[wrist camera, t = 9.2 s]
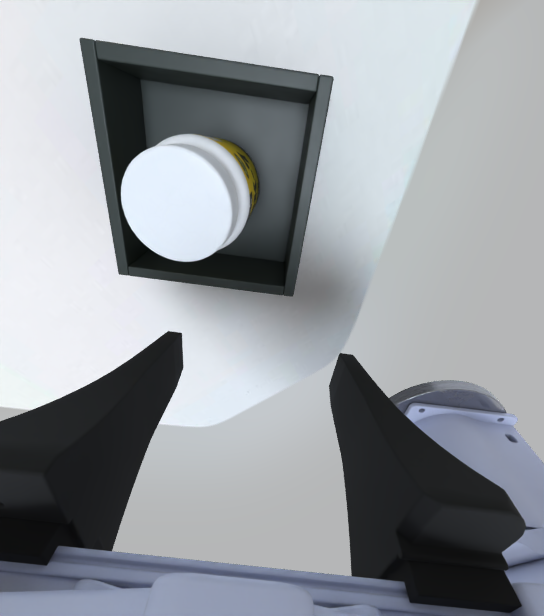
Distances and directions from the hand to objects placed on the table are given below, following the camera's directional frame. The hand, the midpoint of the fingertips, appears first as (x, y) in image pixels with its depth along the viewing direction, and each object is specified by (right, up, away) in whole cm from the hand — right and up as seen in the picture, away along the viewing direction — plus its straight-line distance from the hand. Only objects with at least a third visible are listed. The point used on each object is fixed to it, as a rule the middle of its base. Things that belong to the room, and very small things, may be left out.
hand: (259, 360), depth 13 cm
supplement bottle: (-2, +10, +5) cm, 11 cm away
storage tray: (-2, +10, +5) cm, 12 cm away
